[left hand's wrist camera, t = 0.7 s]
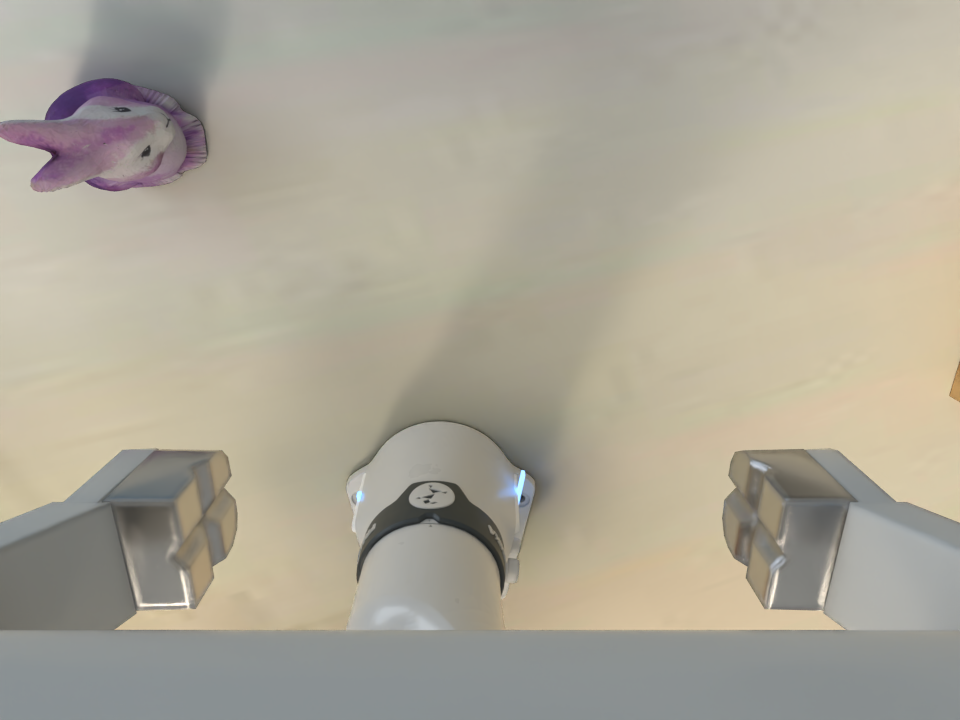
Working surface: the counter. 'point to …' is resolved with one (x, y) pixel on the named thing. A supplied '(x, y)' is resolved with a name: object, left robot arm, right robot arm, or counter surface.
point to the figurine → (111, 138)
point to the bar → (956, 386)
